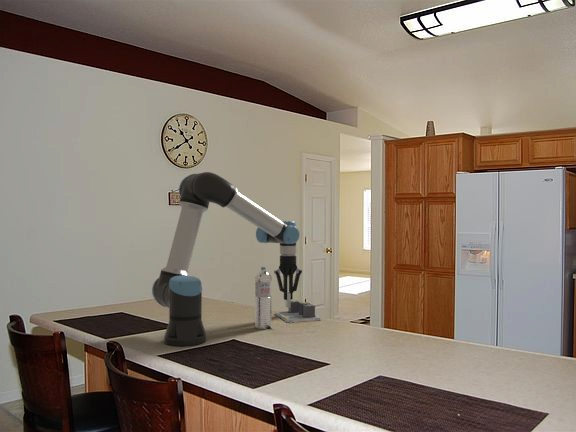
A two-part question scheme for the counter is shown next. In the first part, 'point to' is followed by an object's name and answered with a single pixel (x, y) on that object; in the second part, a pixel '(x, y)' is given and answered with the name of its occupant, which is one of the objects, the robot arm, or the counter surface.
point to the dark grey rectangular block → (308, 311)
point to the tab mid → (302, 307)
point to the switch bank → (294, 317)
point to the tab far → (294, 307)
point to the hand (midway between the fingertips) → (288, 306)
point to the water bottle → (263, 300)
